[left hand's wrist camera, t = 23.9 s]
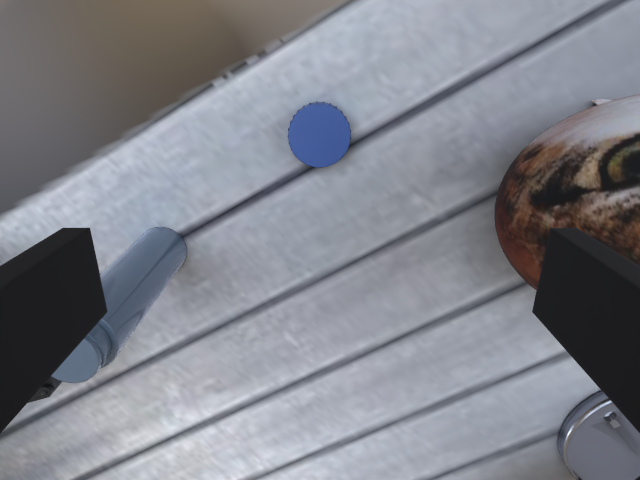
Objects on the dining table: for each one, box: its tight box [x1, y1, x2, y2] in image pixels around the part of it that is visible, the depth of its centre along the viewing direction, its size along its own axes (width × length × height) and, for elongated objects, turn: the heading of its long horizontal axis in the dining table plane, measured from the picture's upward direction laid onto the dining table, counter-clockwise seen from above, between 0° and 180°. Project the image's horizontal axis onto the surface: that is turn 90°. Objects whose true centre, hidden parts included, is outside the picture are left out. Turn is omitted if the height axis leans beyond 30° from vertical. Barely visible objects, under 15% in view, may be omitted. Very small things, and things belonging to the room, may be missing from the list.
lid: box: [288, 102, 351, 167], centre depth 37 cm, size 6×6×2 cm
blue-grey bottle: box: [51, 227, 187, 383], centre depth 34 cm, size 5×5×18 cm
